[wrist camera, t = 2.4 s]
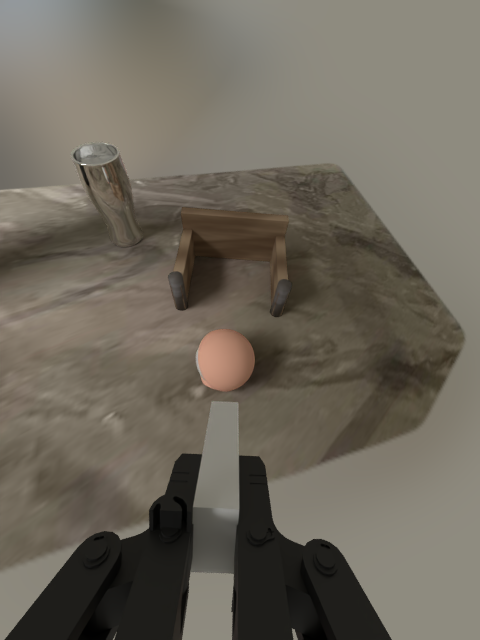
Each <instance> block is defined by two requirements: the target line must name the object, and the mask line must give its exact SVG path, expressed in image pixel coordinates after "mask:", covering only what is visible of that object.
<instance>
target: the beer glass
mask: <svg viewBox="0 0 480 640" xmlns="http://www.w3.org/2000/svg"><path fill="white" fill-rule="evenodd" d="M71 158H72V160H73V163H74V166H75V168H76V171H77V174H78V176H79V179H80V181H81V184H82V186H83V188H84V190H85V192H86V194H87V196H88V197H89V199H90V201H91V202H92V204H93V205H94V207H95V208H96V210H97V211H98V212H99V214H100V215H101V217H102V218H103V220H104V221H105V223H106V226H107V228H108V232H109V237H110V240H111V242H112V243H113V244H115V245H116V246H120V247H129V246H133V245H135V244H137V243H139V242H140V241H141V239H142V238H143V231H142V229H141V227H140V225H139V224H138V222H137V219H136V216H135V211H134V202H133V194H132V188H131V184H130V180H129V176H128V173H127V170H126V168H125V165H124V163H123V160H122V158H121V155H120V152H119V149H118V148H117V147H116V146H115V145H113V144H110V143H106V142H91V143H86V144H83V145H80V146H78V147H76V148H75V149H74V150H73V151H72V153H71Z"/></svg>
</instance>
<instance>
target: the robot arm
mask: <svg viewBox="0 0 480 640" xmlns="http://www.w3.org/2000/svg"><path fill="white" fill-rule="evenodd" d="M190 571H191V572H207V573H232V574H234V587H233V600H232V612H233V619H232V620H233V621H232V623H233V624H232V640H293V634H292V628H293V629H295V632H296V635H297V638H298V640H392V639H391V638H390V636H389V634H388V632H387V631H386V629H385V627H384V626H383V624H382V622H381V620H380V619H379V617H378V615H377V613H376V612H375V610H374V608H373V607H372V605H371V603H370V601H369V600H368V598H367V596H366V594H365V593H364V591H363V589H362V587H361V586H360V584H359V582H358V580H357V579H356V577H355V575H354V573H353V572H352V570H351V568H350V567H349V565H348V563H347V561H346V559H345V558H344V556H343V555H342V553H341V552H340V551H339V550H338V548H337V547H335V546H334V545H333V544H331V543H330V542H328V541H325V540H322V539H313V540H311V541H309V542H307V544H306V545H305V546H303V545H300V544H298V543H295V542H293V541H291V540H289V539H287V538H285V537H284V536H283V535H282V534H281V533H280V532H279V531H278V530H277V529H276V527H275V525H274V523H273V519H272V513H271V505H270V499H269V491H268V485H267V477H266V469H265V465H264V463H263V461H262V460H261V458H260V457H259V456H239V426H238V402H220V401H212V403H211V409H210V414H209V420H208V426H207V431H206V437H205V442H204V448H203V454H182V455H181V456H180V457H179V458H178V459H177V460H176V461H175V464H174V467H173V470H172V474H171V477H170V481H169V483H168V487H167V490H166V493H165V495H163V496H161V497H159V498H158V499H157V500H156V501H155V502H154V503H153V504H152V506H151V508H150V509H149V529H147V530H146V531H144V532H143V533H141V534H138V535H136V536H133V537H129V538H126V539H122V540H120V538H119V536H118V535H116V534H115V533H113V532H107V531H104V532H100V533H96V534H94V535H92V536H91V537H89V538H87V539H86V540H85V541H84V542H83V543H82V544H81V545H80V546H79V547H78V548H77V549H76V550H75V552H74V553H73V554H72V555H71V557H70V558H69V559H68V561H67V562H66V563H65V564H64V566H63V567H62V568H61V569H60V571H59V572H58V573H57V574H56V576H55V577H54V578H53V579H52V581H51V582H50V583H49V584H48V586H47V587H46V588H45V589H44V591H43V592H42V593H41V594H40V596H39V597H38V598H37V600H36V601H35V602H34V603H33V605H32V606H31V607H30V608H29V610H28V611H27V612H26V613H25V615H24V616H23V617H22V619H21V620H20V621H19V622H18V623H17V625H16V626H15V627H14V629H13V630H12V631H11V632H10V634H9V635H8V636H7V637H6V639H5V640H113V638H114V636H115V634H116V637H115V639H114V640H182V635H183V628H184V621H185V614H186V607H187V600H188V593H189V577H190ZM116 632H117V633H116Z"/></svg>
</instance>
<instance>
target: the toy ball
mask: <svg viewBox="0 0 480 640" xmlns="http://www.w3.org/2000/svg"><path fill="white" fill-rule="evenodd" d="M196 364H197V368H198V371H199V373H200V375H201V379H202V382H203V383H204V384H205V385H206V386H208V387H210V388H212V389H215V390H219V391H224V392H227V391H232V390H234V389H237V388H239V387H240V386H242V385H243V384H244V383H245V382H246V381H247V380H248V379H249V378H250V376H251V374H252V372H253V369H254V365H255V355H254V351H253V348H252V346H251V344H250V342H249V341H248V340H247V339H246V338H245V337H244V336H243V335H242V334H240V333H238V332H236V331H234V330H230V329H219V330H214V331H212V332H210V333H208V334H207V335H206V336H205V337H204V338H203V339H202V341H201V343H200V346H199V348H198V350H197V352H196Z"/></svg>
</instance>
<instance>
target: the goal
mask: <svg viewBox="0 0 480 640" xmlns="http://www.w3.org/2000/svg"><path fill="white" fill-rule="evenodd" d="M181 217H182V224H183V232H182V236H181V241H180V245H179V249H178V254H177V258H176V262H175V266H174V271H173V272H171V273H170V274H169V275H168V279H169V283H170V287H171V291H172V295H173V299H174V303H175V307H176V309H178V310H185V309H186V308H187V307H188V302H187V299H188V294H189V288H190V282H191V277H192V271H193V266H194V260H195V256H201V257H215V258H228V259H242V260H255V261H269V262H270V274H271V309H270V313H271V315H273V316H275V317H279V316H281V315H282V312H283V309H284V307H285V304H286V301H287V298H288V296H289V293H290V290H291V287H292V283H291V282H290V281H289V280H288V274H287V260H286V247H285V234H286V230H287V226H288V222H289V220H288V216H286V215H274V214H261V213H249V212H236V211H224V210H211V209H199V208H186V207H182V211H181Z"/></svg>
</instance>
